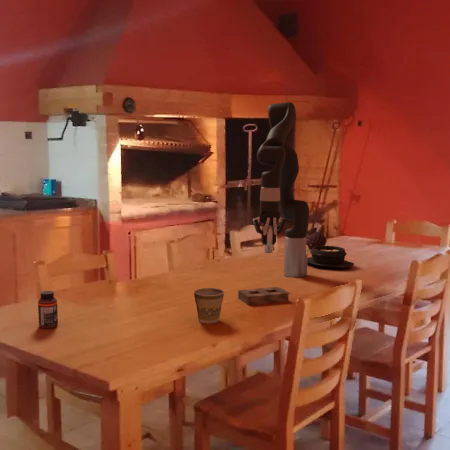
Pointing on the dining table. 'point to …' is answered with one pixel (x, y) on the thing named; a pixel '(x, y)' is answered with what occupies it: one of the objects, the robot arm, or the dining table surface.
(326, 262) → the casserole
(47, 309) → the supplement bottle
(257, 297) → the socket block
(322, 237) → the pine cone
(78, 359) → the dining table surface
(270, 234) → the pin
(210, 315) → the ceramic cup
